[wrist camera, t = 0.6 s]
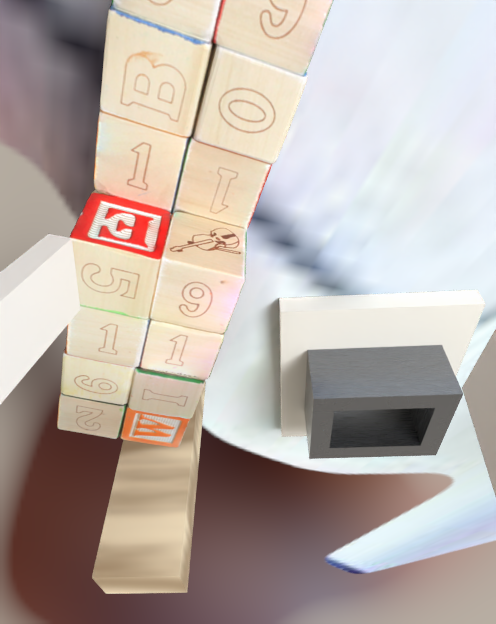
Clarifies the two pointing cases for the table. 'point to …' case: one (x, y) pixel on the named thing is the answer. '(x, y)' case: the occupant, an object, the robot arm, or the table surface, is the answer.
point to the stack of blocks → (175, 201)
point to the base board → (367, 333)
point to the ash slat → (151, 516)
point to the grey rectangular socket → (378, 401)
